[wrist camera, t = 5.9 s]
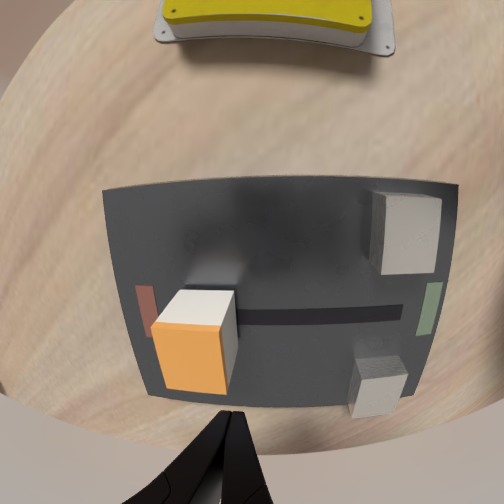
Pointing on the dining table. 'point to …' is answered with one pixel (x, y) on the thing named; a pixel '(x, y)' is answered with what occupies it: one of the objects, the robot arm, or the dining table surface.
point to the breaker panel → (292, 280)
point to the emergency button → (281, 21)
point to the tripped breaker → (197, 341)
